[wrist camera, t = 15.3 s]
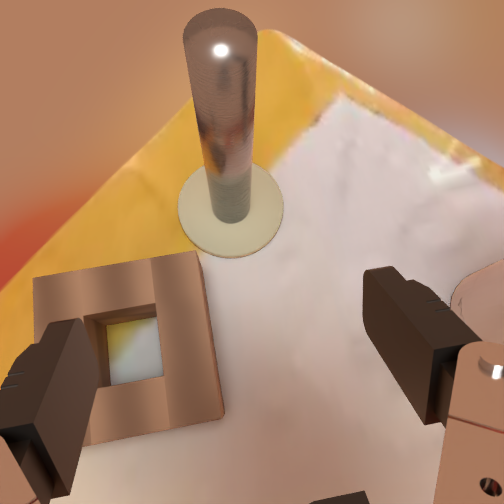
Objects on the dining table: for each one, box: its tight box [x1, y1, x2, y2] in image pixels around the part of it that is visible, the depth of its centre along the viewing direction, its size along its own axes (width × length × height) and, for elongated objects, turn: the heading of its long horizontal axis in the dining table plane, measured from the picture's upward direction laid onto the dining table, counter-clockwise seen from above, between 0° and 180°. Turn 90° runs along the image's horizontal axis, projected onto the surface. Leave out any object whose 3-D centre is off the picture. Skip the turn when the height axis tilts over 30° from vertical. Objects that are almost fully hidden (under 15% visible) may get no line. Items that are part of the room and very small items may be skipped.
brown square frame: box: [33, 250, 225, 447], centre depth 37 cm, size 14×14×6 cm
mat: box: [178, 163, 283, 258], centre depth 44 cm, size 11×11×1 cm
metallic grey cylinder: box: [183, 8, 258, 224], centre depth 33 cm, size 4×4×22 cm
